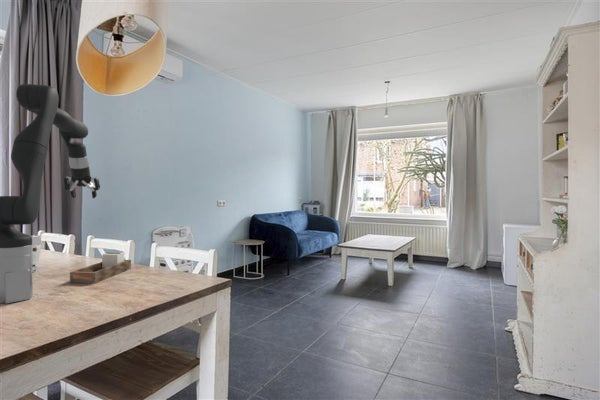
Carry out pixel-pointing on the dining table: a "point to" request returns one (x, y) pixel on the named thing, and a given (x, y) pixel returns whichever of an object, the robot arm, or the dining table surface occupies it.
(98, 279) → the wooden tray
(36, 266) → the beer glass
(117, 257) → the slider block
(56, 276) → the dining table surface
